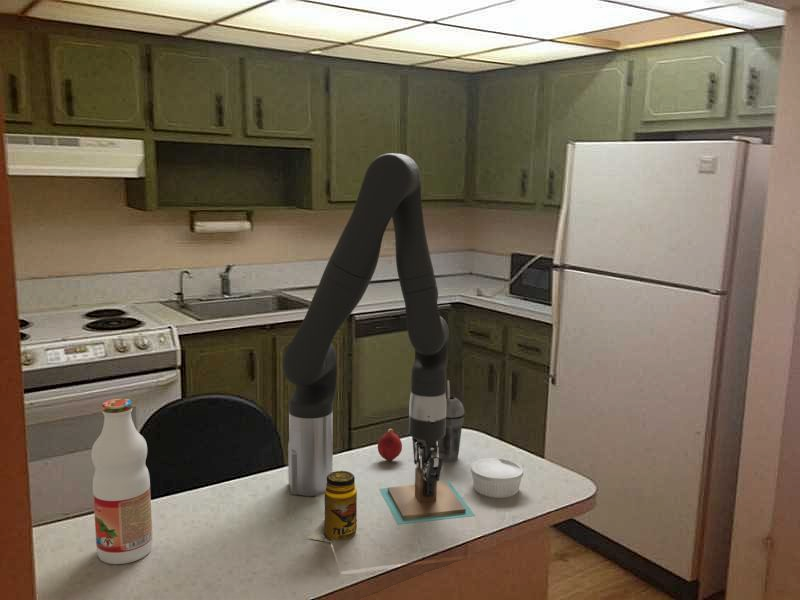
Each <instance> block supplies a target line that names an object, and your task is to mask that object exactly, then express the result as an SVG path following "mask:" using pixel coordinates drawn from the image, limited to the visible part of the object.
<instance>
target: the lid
mask: <svg viewBox="0 0 800 600" xmlns="http://www.w3.org/2000/svg"><path fill="white" fill-rule="evenodd" d="M414 471H415V473H414V484H411V485H403V486H402V485H401V486H400V485H399V486H392V487H391V486H390V487H387V488H388V493H389V495H390V496H391V498H392V500H393V502H394V504H395V506H396V507H397V509H398V511H399V513H400V515H401V517H402V518H403V520H405V519H414V518H423V517H432V516H441V515H450V514H459V513H466V509H465V508H464V506H463V505H462V504H461V502H460V501H459V500H458V498H457V497H456V495H455V494H454V493H453V491H452V490H451V489H450V487H449V486H448V485H447V483H446V482H447V481H443V482H438V481H435V484H434V496H433V497H428V498H425V497H424V496H423V480H424V479H423V469H422V468H416V467H415V470H414Z"/></svg>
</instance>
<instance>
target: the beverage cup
mask: <svg viewBox="0 0 800 600" xmlns="http://www.w3.org/2000/svg"><path fill="white" fill-rule="evenodd" d="M446 387H447V396H446V434H445V436H444V437H443V438H441V439H439V440H438V441H437V445H438V447H439V454H438V457H442V462H455V461H457V460H458V458H459V453H460V446H461V438H462V437H461V436H462V429H463V428H462V427H463V424H464V421H465V416H466V412H465V408H464V404H463V403H462V402H461V401H460V400H459V399H458V398H456V397H454V396H450V395H451V391H450V388H451V387H450V380H447V379H446Z"/></svg>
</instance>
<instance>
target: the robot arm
mask: <svg viewBox="0 0 800 600" xmlns="http://www.w3.org/2000/svg"><path fill="white" fill-rule="evenodd" d="M420 172H421V171H420V169H419V166H418V164H417V163H416V161H414V159H413V158H411V157H410V156H408V155H407V154H403V153H395V152H394V153H393V152H392V153H383V154H380V155H378V156H377V157H376V158H374V159H373V160H372V161H371V163H370V164H369V165H368V167H367V169H366V171H365V174H364V177H363V179H362V180H363V181H362V183H361V186H360V190H359V191H358V195H357V198H356V202H355V204H354V207H353V210H352V212H351V215H350V217H349V219H348V221H347V223H346V224H345V227H344V229H343V231H342V232H341V234H340V237H339V239H338V240H337V243H336V245H335V247H334V249H333V251H332V252H331V255H330V258H329V260H328V261H327V264H326V266H325V267H324V270H323V274H322V276H321V277H320V280H319V283H318V285H317V288H316V289H315V292H314V295H313V297H312V299H311V302H310V304H309V307H308V309H307V312H306V314H305V316H304V318H303V320H302V322H301V324H300V325H299V328H298V329H297V331H296V332H295V335H294V336H293V338H292V339H291V341H290V343H289V344H288V346H287V347H286V350H285V351H284V353H283V357H282V370H283V374H284V377H285V378H286V379H287V381H288V382H289V383H291V384H292V385H295V387H294V390H293V392H292V395H291V396H290V399H289V400H288V425H289V426H288V432H289V435H288V436H289V439H288V443H287V447H288V448H287V449H288V452H287V453H288V454H287V455H288V456H287V457H288V458H287V459H288V460H287V462H288V470H287V471H288V472H287V473H288V485H289V490H290V494H291V495H298V496H303V497H304V496H306V497H313V496H317V495H319V494H325V489H326V484H327V476H328V475H329V474H330V473H332V472H334V471H333V465H334V464H333V458H334V457H333V456H334V455H333V445H334V444H333V438H334V437H333V432H334V431H333V422H334V421H333V417H334V416H333V414H334V413H333V409H334V408H333V407H334V406H333V405H334V400H335V398H336V395H337V394H336V393H337V380H338V379H337V377H338V376H337V375H338V374H337V373H338V359H337V352H336V350H335V347H334V345H333V340H334V339H335V336H336V335H337V333H338V331H339V330H340V328H341V327H342V326H343V324H344V323H345V322H346V320H347V319H348V318H349V317H350V316H351V314H352V313H353V311H354V310H355V308H356V307H357V306H358V305H359V303H360V301H361V300H362V299H363V297H364V294H365V293H366V291H367V289H368V287H369V284H370V283H371V281H372V278H373V276H374V273H375V272H376V269H377V265H378V263H379V262H378V261H379V258H380V253H381V247H382V242H383V237H384V235H385V232H386V229H387V227H388V224H389V223H390V221H391V220H392V222H393V228H394V238H395V239H394V241H395V264H396V270H397V276H398V277H397V278H398V281H399V284H400V290H401V293H402V297H403V300H404V306H405V319H406V328H407V334H408V338H409V342H410V344H411V346H412V347H413V349H414V363H413V365H412V367H411V375H410V397H409V403H408V404H409V406H408V407H409V408H408V409H409V411H408V412H409V413H408V418H409V419H408V434H409V436H410V437H412V439H411V440H412V448H413V449H412V450H413V451H412V452H413V453H412V454H413V463H414V465H416V466H415V468H422V469H423V479H424V480H423V496H424V497H425V498H428V497H433V496H434V484H435V481H437V482H438V481H439V480H440V475H441V470H442V466H443V460H442V457H439V455H438V454H439V447H438V442H437V441H438V440H439V439H441V438H443V437H444V436H445V434H446V397H447V395H446V387H447V374H446V373H447V372H446V371H447V369H446V368H447V367H446V364H447V358H448V350H449V341H450V339H449V337H450V330H449V329H450V328H449V326H448V323H447V322H446V320H445V319H444V318H443V317H442V316H441V315H440V311H439V305H438V300H439V290H438V289H439V288H438V285H437V280H436V276H435V271H434V267H433V262H432V259H431V253H430V249H429V245H428V239H427V235H426V229H425V223H424V213H423V203H422V202H423V201H422V186H421V173H420Z"/></svg>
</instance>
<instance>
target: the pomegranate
mask: <svg viewBox="0 0 800 600" xmlns="http://www.w3.org/2000/svg"><path fill="white" fill-rule="evenodd" d="M402 443H403V442H402V440H401V438H400V437H399V435H397V434H396V433H395V432H394V430H393V429H392V428H389V429H388V430H387V431H386V433H383V435H381V436H380V438H379V440H378V442H377V450H378V454H379V455H380V457H382V458H383V459H384V460H385V461H387V462H392V461H393V460H395V459H396V458H397V457H398V456H400V454H401V453H402V450H403V444H402Z"/></svg>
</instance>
